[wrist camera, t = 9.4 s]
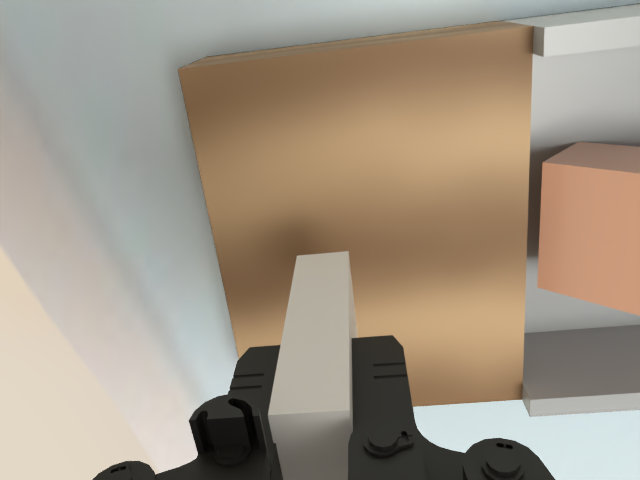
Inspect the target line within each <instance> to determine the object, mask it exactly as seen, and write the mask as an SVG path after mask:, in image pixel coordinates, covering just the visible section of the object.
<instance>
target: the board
mask: <svg viewBox="0 0 640 480" xmlns="http://www.w3.org/2000/svg"><path fill="white" fill-rule="evenodd" d="M533 32H534V26H531V25H524V24H518V23H511V22H504V21H494V22H486V23H478V24H470V25H462V26H453V27H445V28H437V29H429V30H421V31H413V32H405V33H396V34H388V35H380V36H372V37H364V38H356V39H348V40H339V41H331V42H323V43H315V44H307V45H299V46H291V47H282V48H274V49H266V50H258V51H250V52H242V53H234V54H225V55H217V56H209V57H205V58H203V59H200V60H198V61H196V62H193V63H191V64H189V65H186V66H184V67H182V68H179V69H178V73H179V77H180V82H181V87H182V92H183V96H184V101H185V106H186V110H187V115H188V120H189V125H190V129H191V134H192V139H193V144H194V148H195V153H196V158H197V163H198V167H199V172H200V177H201V182H202V186H203V191H204V196H205V200H206V205H207V210H208V215H209V219H210V224H211V229H212V234H213V238H214V243H215V248H216V253H217V257H218V262H219V267H220V272H221V276H222V281H223V286H224V290H225V295H226V300H227V305H228V309H229V314H230V319H231V324H232V328H233V333H234V338H235V343H236V347H237V352H238V357H239V359H240V357H241V356H242V355H243V354H244V353H245V352H246V351H247V350H248V348H249V347H259V346H272V345H281V340H282V335H283V329H284V324H285V318H286V313H287V307H288V302H289V296H290V291H291V286H292V280H293V275H294V269H295V264H296V258H297V256H299V255H310V254H321V253H333V252H344V251H349V260H350V269H351V278H352V287H353V297H354V306H355V315H356V324H357V338H360V337H373V336H386V335H393V336H394V337H395V338H396V339H397V341H398V342H399V343H400V344H401V345H402V346H403V349H404V355H405V361H406V368H407V375H408V381H409V387H410V394H411V400H412V406H413V407H415V406H430V405H445V404H460V403H475V402H490V401H506V400H521V399H522V392H523V359H524V327H525V294H526V261H527V228H528V196H529V163H530V130H531V97H532V64H533Z"/></svg>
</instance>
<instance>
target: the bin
mask: <svg viewBox="0 0 640 480" xmlns="http://www.w3.org/2000/svg"><path fill="white" fill-rule="evenodd" d="M502 21H504V22H511V23H518V24H524V25H531V26H534V32H533V64H532V97H531V130H530V163H529V196H528V228H527V261H526V294H525V327H524V359H523V392H522V400H523V402H524V404H525V407H526V409H527V411H528V413H529V416H530V417H533V416H549V415H564V414H580V413H596V412H612V411H627V410H640V316H638V315H635V314H631V313H628V312H624V311H620V310H617V309H613V308H610V307H606V306H602V305H599V304H595V303H592V302H588V301H584V300H581V299H577V298H573V297H570V296H566V295H563V294H559V293H555V292H552V291H548V290H545V289H541V288H537V279H538V256H539V233H540V210H541V187H542V164H543V162H544V161H546V160H548V159H549V158H551V157H553V156H555V155H556V154H558V153H560V152H562V151H563V150H565V149H567V148H569V147H570V146H572V145H574V144H576V143H577V142H590V143H602V144H613V145H625V146H637V147H640V4H633V5H624V6H616V7H608V8H600V9H592V10H584V11H576V12H567V13H559V14H551V15H543V16H535V17H527V18H519V19H510V20H502Z"/></svg>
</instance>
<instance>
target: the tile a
mask: <svg viewBox="0 0 640 480" xmlns="http://www.w3.org/2000/svg"><path fill="white" fill-rule="evenodd" d="M537 288H541V289H545V290H548V291H552V292H555V293H559V294H563V295H566V296H570V297H573V298H577V299H581V300H584V301H588V302H592V303H595V304H599V305H602V306H606V307H610V308H613V309H617V310H620V311H624V312H628V313H631V314H635V315H638V316H640V147H637V146H625V145H613V144H602V143H590V142H577V143H576V144H574V145H572V146H570V147H569V148H567V149H565V150H563V151H562V152H560V153H558V154H556V155H555V156H553V157H551V158H549V159H548V160H546V161H544V162H543V164H542V187H541V210H540V233H539V256H538V279H537Z"/></svg>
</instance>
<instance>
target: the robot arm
mask: <svg viewBox="0 0 640 480" xmlns="http://www.w3.org/2000/svg"><path fill="white" fill-rule="evenodd" d="M233 376H234V378H232V382H231V385H230V391H229V392H228V395H223V396H218V397H216V398H213V399H211V400H209V401H207V402H205V403H204V404H202V405H201V406H200V407H199V408H198V409H196V410H195V411H194V413H193V415H192V416H191V418H190V419H189V423H190V426H191V430H192V433H193V437H194V440H195V444H196V448H197V451H198V456H197V458H196V459H195V460H193V461H192V462H190V463H188V464H185V465H183V466H180V467H178V468H175V469H171V470H168V471H165V472H162V473H159V474H156V475H155V472H154V471H153V470H152V469H151V467H150V466H149V465H148V464H145V463H143V462H140V461H125V462H122V463H119V464H116V465H113V466H111V467H109V468H107V469H106V470H104V471H102V472H101V473H99V474H98V475H97V476H96V477H95V478H94V479H93V480H555V479H554V477H553V476H552V475H551V473H550V472H549V471H548V469H547V468H546V467H545V465H544V464H543V463H542V461H541V460H540V458H539V457H538V456H537V455H536V454H535V453H533V452H532V451H531V450H530V449H529V448H528V447H526V446H524V445H522V444H520V443H518V442H516V441H513V440H508V439H502V438H493V439H484V440H482V441H480V442H477V443H475V444H473V445H472V446H471V447H470V448H469V449H468V451H467V452H466V453H462V452H457V451H452V450H448V449H445V448H441V447H439V446H437V445H435V444H433V443H431V442H429V441H428V440H427V439H426V438H425V437H423V436H422V434H421V433H420V432H419V430H418V429H417V426H416V423H415V419H414V413H413V406H412V400H411V394H410V387H409V381H408V375H407V368H406V361H405V355H404V349H403V346H402V345H401V344H400V343H399V342H398V341H397V339H396V338H395V337H394V336H393V335H386V336H373V337H360V338H357V324H356V315H355V306H354V297H353V287H352V278H351V269H350V260H349V251H344V252H333V253H321V254H310V255H299V256H297V258H296V264H295V269H294V275H293V280H292V286H291V291H290V296H289V302H288V307H287V313H286V318H285V324H284V329H283V335H282V340H281V345H272V346H259V347H249V348H248V350H247V351H246V352H245V353H244V354H243V355H242V356H241V357H240V359H239V360H238V361H237V365H236V368H235V372H234V375H233Z"/></svg>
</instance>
